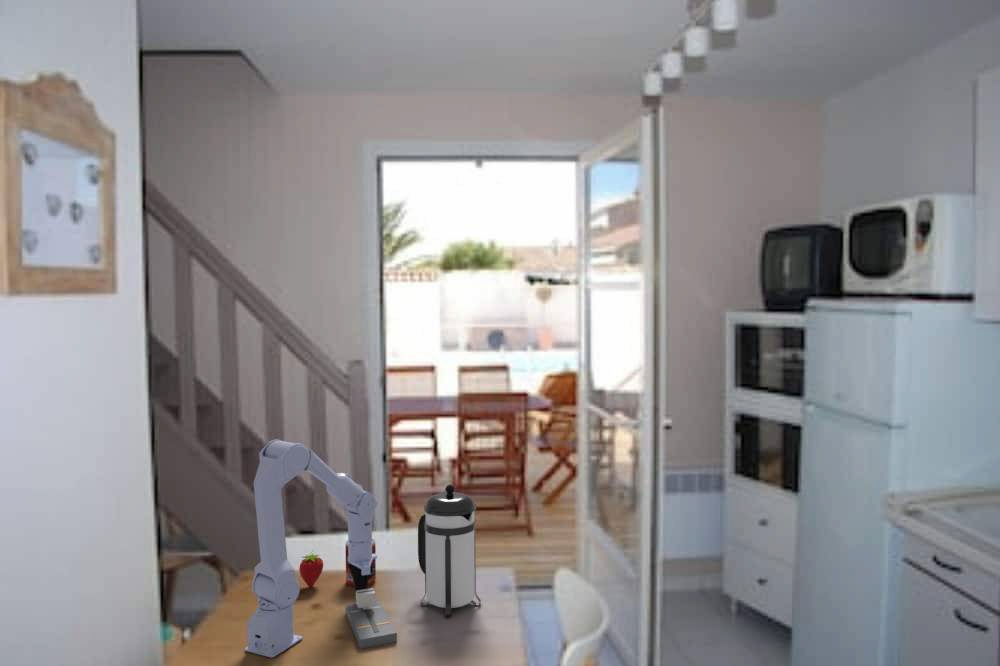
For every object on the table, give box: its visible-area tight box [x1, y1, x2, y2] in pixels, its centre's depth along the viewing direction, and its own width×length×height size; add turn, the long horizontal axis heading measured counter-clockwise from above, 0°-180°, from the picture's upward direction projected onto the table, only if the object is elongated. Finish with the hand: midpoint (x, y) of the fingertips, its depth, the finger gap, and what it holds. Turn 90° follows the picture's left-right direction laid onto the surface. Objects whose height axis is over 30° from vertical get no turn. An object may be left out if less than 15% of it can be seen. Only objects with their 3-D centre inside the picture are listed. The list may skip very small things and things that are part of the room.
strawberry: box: [299, 550, 324, 588], centre depth 179 cm, size 6×8×10 cm
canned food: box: [345, 538, 377, 588], centre depth 182 cm, size 8×8×11 cm
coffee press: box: [417, 484, 482, 618], centre depth 168 cm, size 17×16×30 cm
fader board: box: [345, 599, 398, 650], centre depth 156 cm, size 19×8×2 cm, turn 22°
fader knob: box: [355, 587, 376, 610], centre depth 160 cm, size 3×4×4 cm
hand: (360, 594), depth 166 cm, fingers closed
